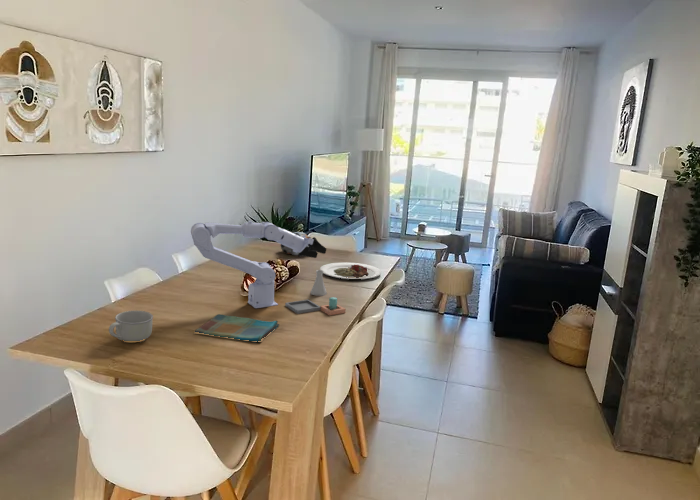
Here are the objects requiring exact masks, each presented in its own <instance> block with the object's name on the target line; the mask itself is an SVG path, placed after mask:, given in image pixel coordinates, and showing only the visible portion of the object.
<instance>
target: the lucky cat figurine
mask: <svg viewBox="0 0 700 500" xmlns="http://www.w3.org/2000/svg"><path fill="white" fill-rule="evenodd" d="M293 233H294V234H296V235H298V236H301V237H302V236H304V235H305V236H306V237H305V238H311V239H312V236H308V234H306V232H302V231H294V232H293ZM308 247H309V246H308ZM280 249H281V251H282V252H283V253H285V254H286V255H287V254H292V255H291V256H298V254H299V253H298V252H297V253H296V252H293V249H291V248H289V247H287V246H284V245H282V244H280Z"/></svg>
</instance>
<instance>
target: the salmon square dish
mask: <svg viewBox="0 0 700 500" xmlns="http://www.w3.org/2000/svg"><path fill="white" fill-rule="evenodd" d="M319 306H320V307H321V310H320V311H321V312H323V313H325V314H327V315H328V316H334V315H341V314H346V312H347V311H346V308H345V307H343V306H341V305H339V304H338V303H337V309H334V310H330V309H329V304H325V305H319Z"/></svg>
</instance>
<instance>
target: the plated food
mask: <svg viewBox="0 0 700 500" xmlns="http://www.w3.org/2000/svg"><path fill="white" fill-rule="evenodd" d="M348 267H350V268H348ZM367 269H368V270H371V271H372V272H374V275H373V276H371V277H366V278H359V277H363V276H364V275H366V276H368V275H369V273H368V272H367ZM319 270H322V271H323V275H326V276H330V277H333V278H337V279H340V278H341V279H340V280H349V279H361V280H368V279H373V278H377V277H379V276H380V275H382V271H381V269H380V268H378V267H376V266H374V265H369V264H366V263H357V262H346V261H345V262H332V263H327V264H324V265H321V266H320V268H319ZM346 277H347V278H346ZM348 277H356V278H348Z"/></svg>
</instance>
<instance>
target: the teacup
mask: <svg viewBox="0 0 700 500" xmlns="http://www.w3.org/2000/svg"><path fill="white" fill-rule="evenodd" d="M114 317H115V318H114V319H115V322H112V323H111V324H110V325H109V327H108V333H109V334H110V335H111V336H112V337H114V338H117V340H121V341H122V340H124V341H140V340H143V339H146V338H147V339H148V338H149V337H151V335H152V331H153V318H154V316H153V314H152V313H151V312H148V311H145V310H127V311H122V312H120V313H118V314H116V315H115V316H114ZM114 329H115V332H114ZM147 339H146V340H147Z"/></svg>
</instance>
